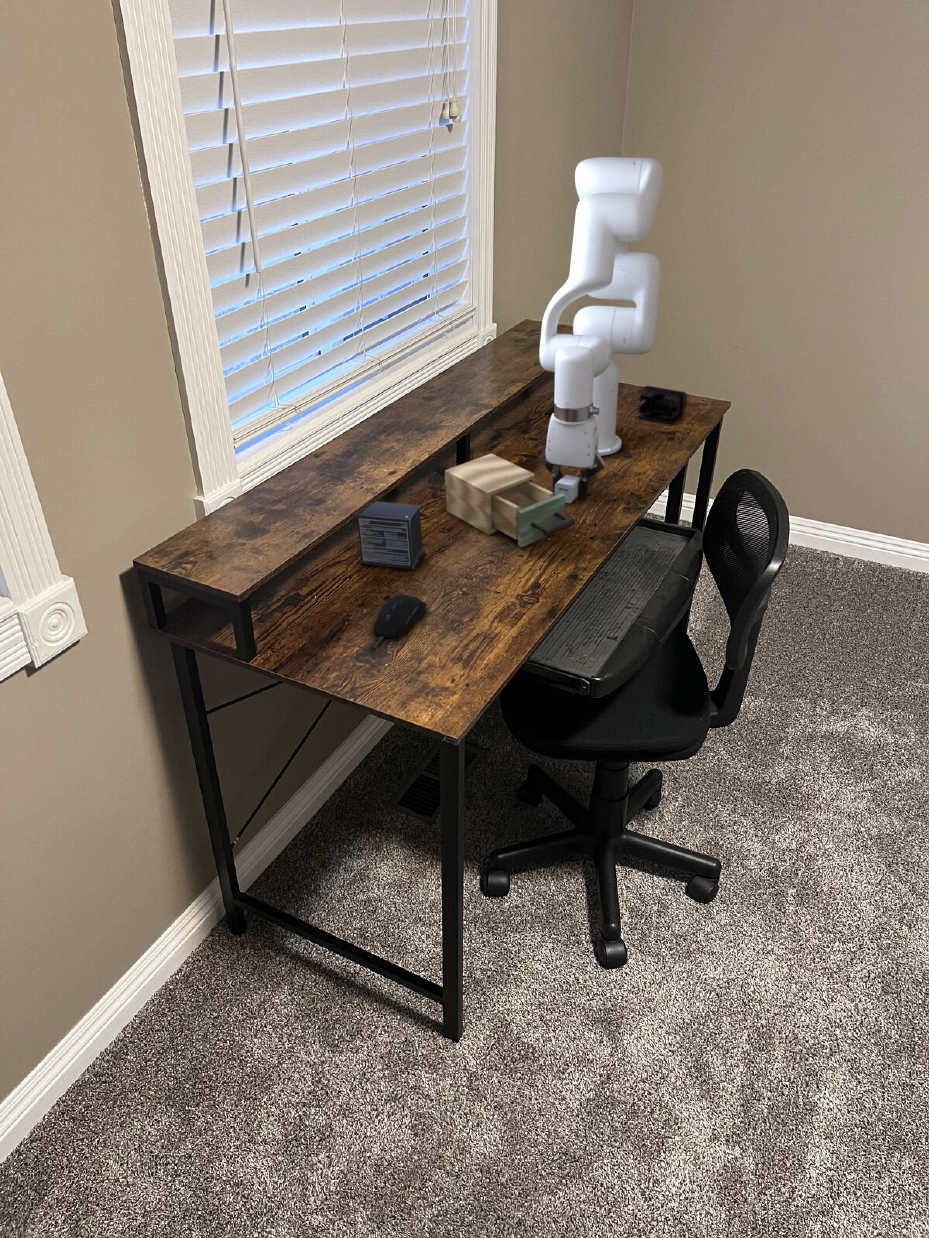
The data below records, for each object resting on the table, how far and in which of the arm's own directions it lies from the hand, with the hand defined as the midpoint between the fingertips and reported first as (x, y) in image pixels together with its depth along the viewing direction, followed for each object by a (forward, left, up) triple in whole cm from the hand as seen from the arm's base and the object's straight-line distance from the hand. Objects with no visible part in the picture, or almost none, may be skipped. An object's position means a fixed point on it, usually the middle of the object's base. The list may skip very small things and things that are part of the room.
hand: (570, 493), depth 193 cm
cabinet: (+13, -13, 0) cm, 18 cm away
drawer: (+19, -2, +1) cm, 19 cm away
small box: (+36, -24, -1) cm, 43 cm away
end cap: (-48, +9, -1) cm, 49 cm away
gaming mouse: (+56, -14, -1) cm, 58 cm away
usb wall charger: (0, 0, -1) cm, 1 cm away
